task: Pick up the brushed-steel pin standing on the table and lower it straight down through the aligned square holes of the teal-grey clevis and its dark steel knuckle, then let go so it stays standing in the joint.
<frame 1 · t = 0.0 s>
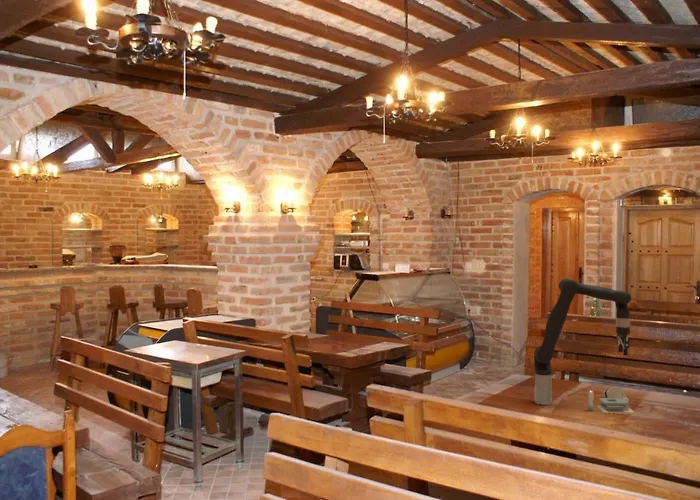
hand: (623, 353, 367), 29 cm above the table, fingers open, 8 cm apart
pin: (590, 410, 356), on the table
hinge: (615, 403, 372), on the table
clevis: (611, 409, 357), on the table
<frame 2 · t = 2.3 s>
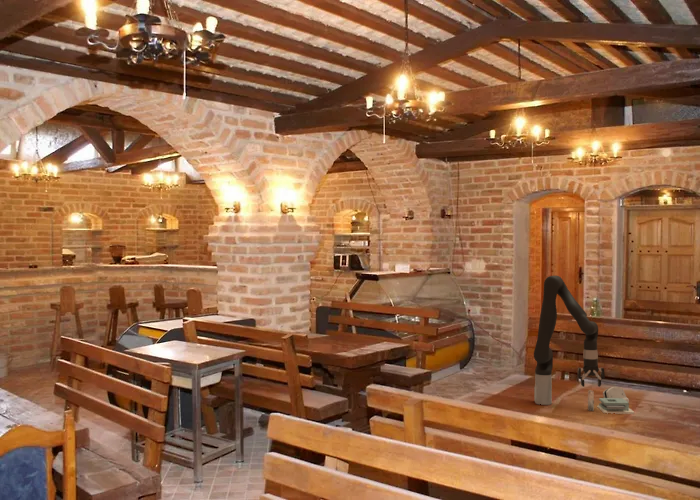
hand: (591, 386, 356), 14 cm above the table, fingers open, 8 cm apart
nothing on the table moved.
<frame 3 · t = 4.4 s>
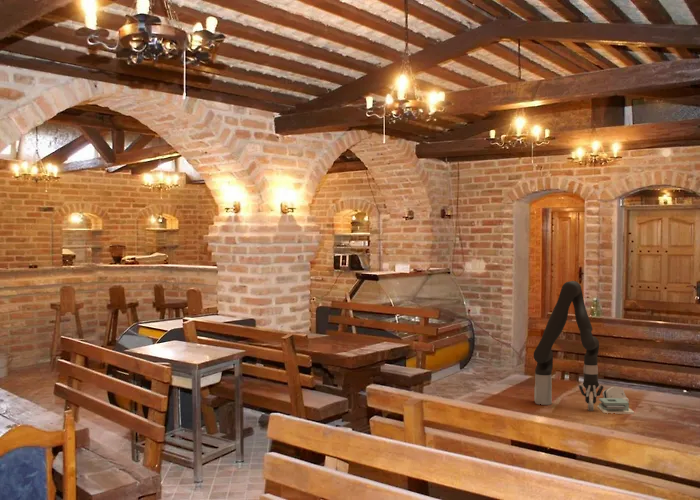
hand: (590, 403, 356), 4 cm above the table, fingers closed on pin, 3 cm apart
pin: (590, 410, 356), on the table, touching gripper
everything else where it was.
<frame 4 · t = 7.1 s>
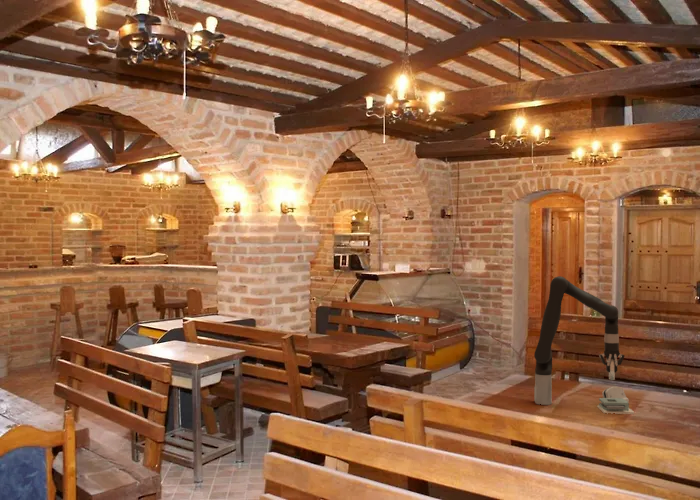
hand: (611, 372, 356), 21 cm above the table, fingers closed on pin, 3 cm apart
pin: (611, 379, 356), point 17 cm above the table, touching gripper
everything else where it was.
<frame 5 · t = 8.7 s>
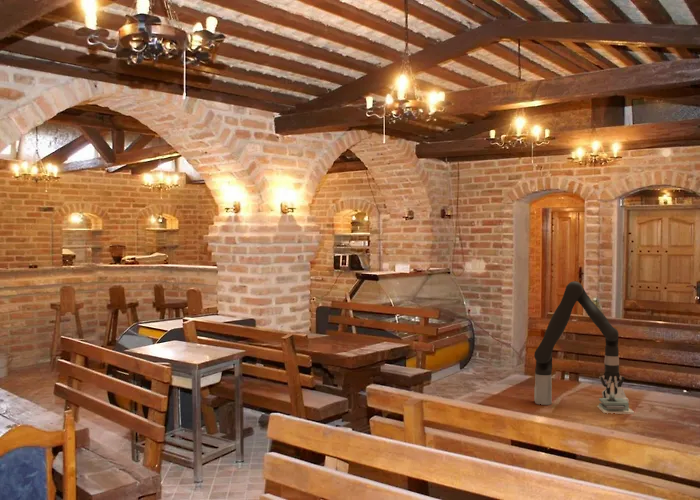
hand: (611, 394, 357), 9 cm above the table, fingers closed on pin, 3 cm apart
pin: (611, 401, 357), point 5 cm above the table, touching gripper
everything else where it was.
when the fingers open (6 cm above the table, at t = 9.9 s): pin stays where it is, resting on clevis.
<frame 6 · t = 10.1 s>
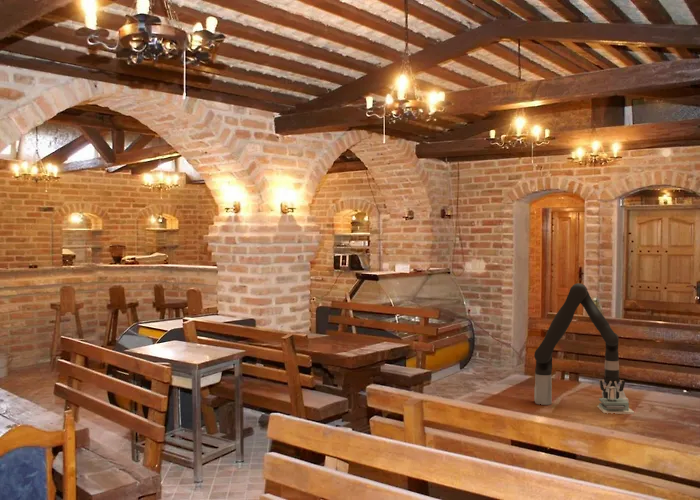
hand: (611, 398, 357), 6 cm above the table, fingers open, 5 cm apart
pin: (612, 407, 357), point 1 cm above the table, touching clevis
everything else where it was.
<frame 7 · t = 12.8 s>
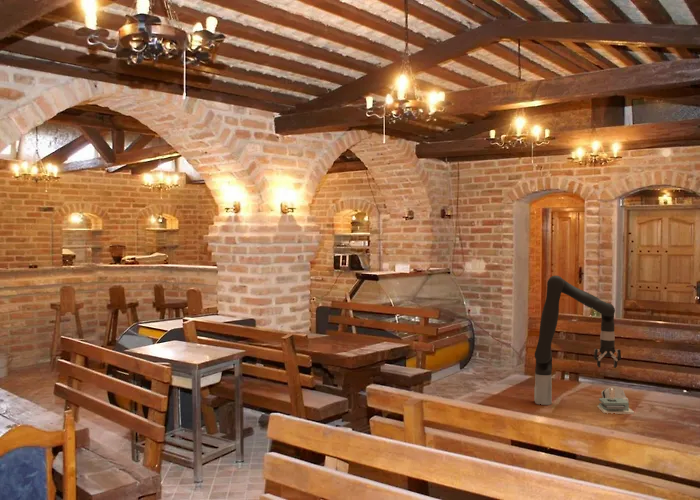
hand: (607, 367, 360), 23 cm above the table, fingers open, 8 cm apart
nothing on the table moved.
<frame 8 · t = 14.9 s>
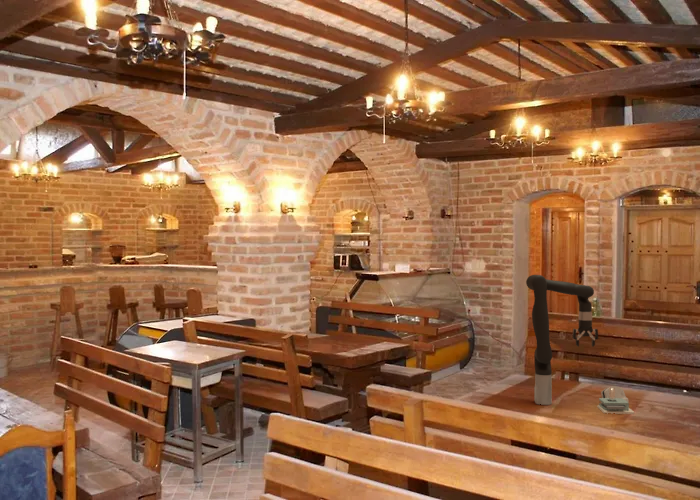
hand: (585, 346, 377), 32 cm above the table, fingers open, 8 cm apart
nothing on the table moved.
at the end: pin 0.1 cm off-centre on the clevis, point 1.0 cm above the clevis's base; pin tilted 1°; the gripper is holding nothing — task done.
